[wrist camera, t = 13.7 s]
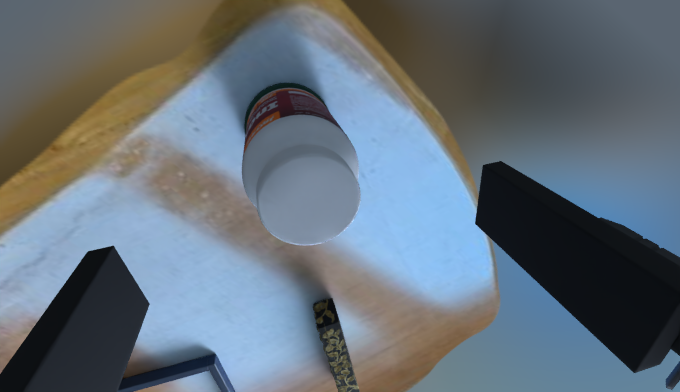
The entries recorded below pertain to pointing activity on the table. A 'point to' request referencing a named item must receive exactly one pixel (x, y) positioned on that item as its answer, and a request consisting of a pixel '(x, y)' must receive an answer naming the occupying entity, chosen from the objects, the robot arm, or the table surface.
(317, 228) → the pill bottle
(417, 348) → the table surface
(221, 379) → the dark grey open frame
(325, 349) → the decorative block
